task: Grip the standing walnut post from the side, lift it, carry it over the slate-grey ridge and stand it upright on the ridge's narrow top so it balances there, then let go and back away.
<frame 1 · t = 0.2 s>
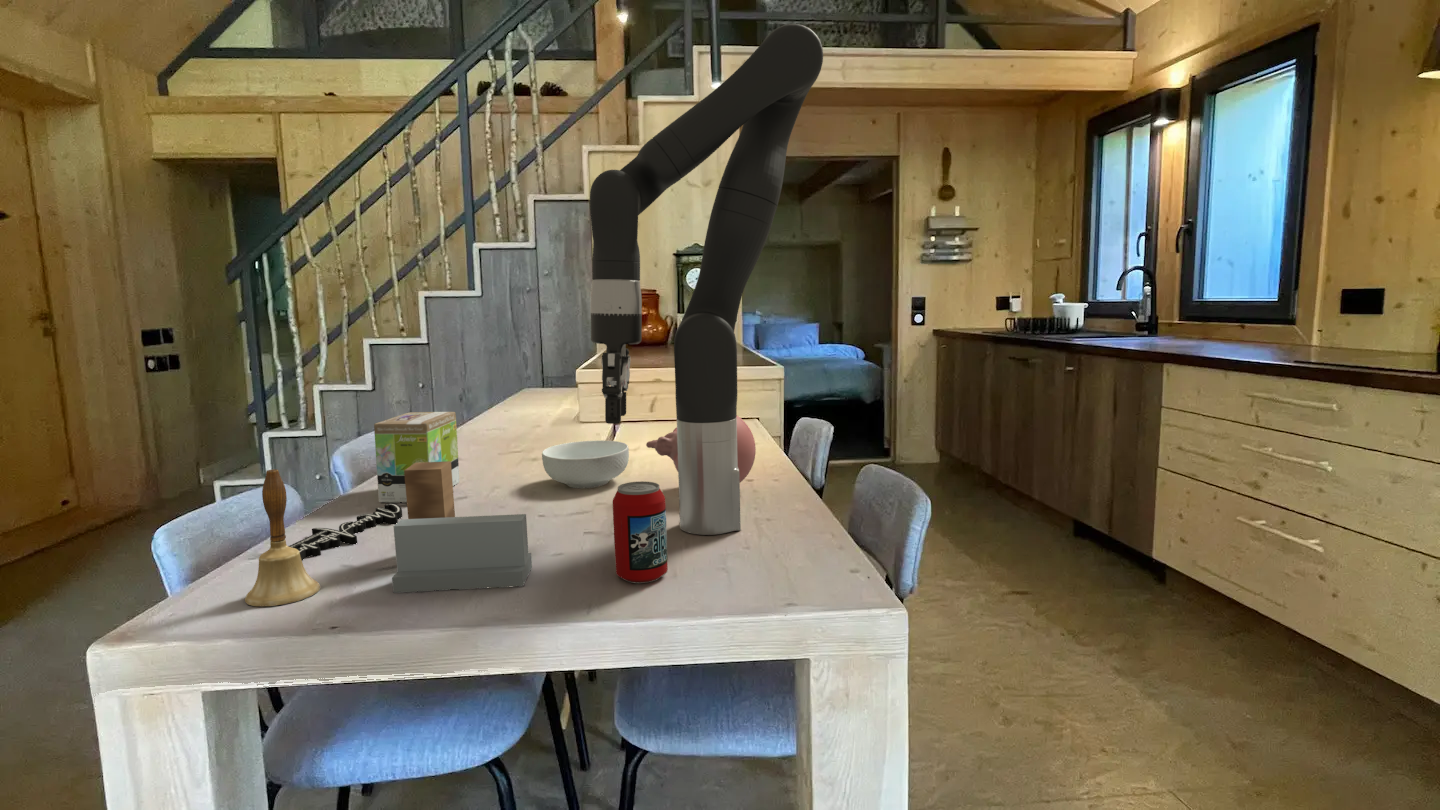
hand: (616, 419, 117), 18 cm above the table, tool pointing down, fingers open, 8 cm apart
ridge: (465, 579, 101), on the table
hand bell: (283, 595, 97), on the table
walnut post: (435, 554, 111), on the table
nameplate: (347, 537, 122), on the table
tea box: (421, 493, 147), on the table
cereal bowl: (587, 484, 151), on the table
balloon: (702, 492, 143), on the table
beverage can: (642, 577, 100), on the table
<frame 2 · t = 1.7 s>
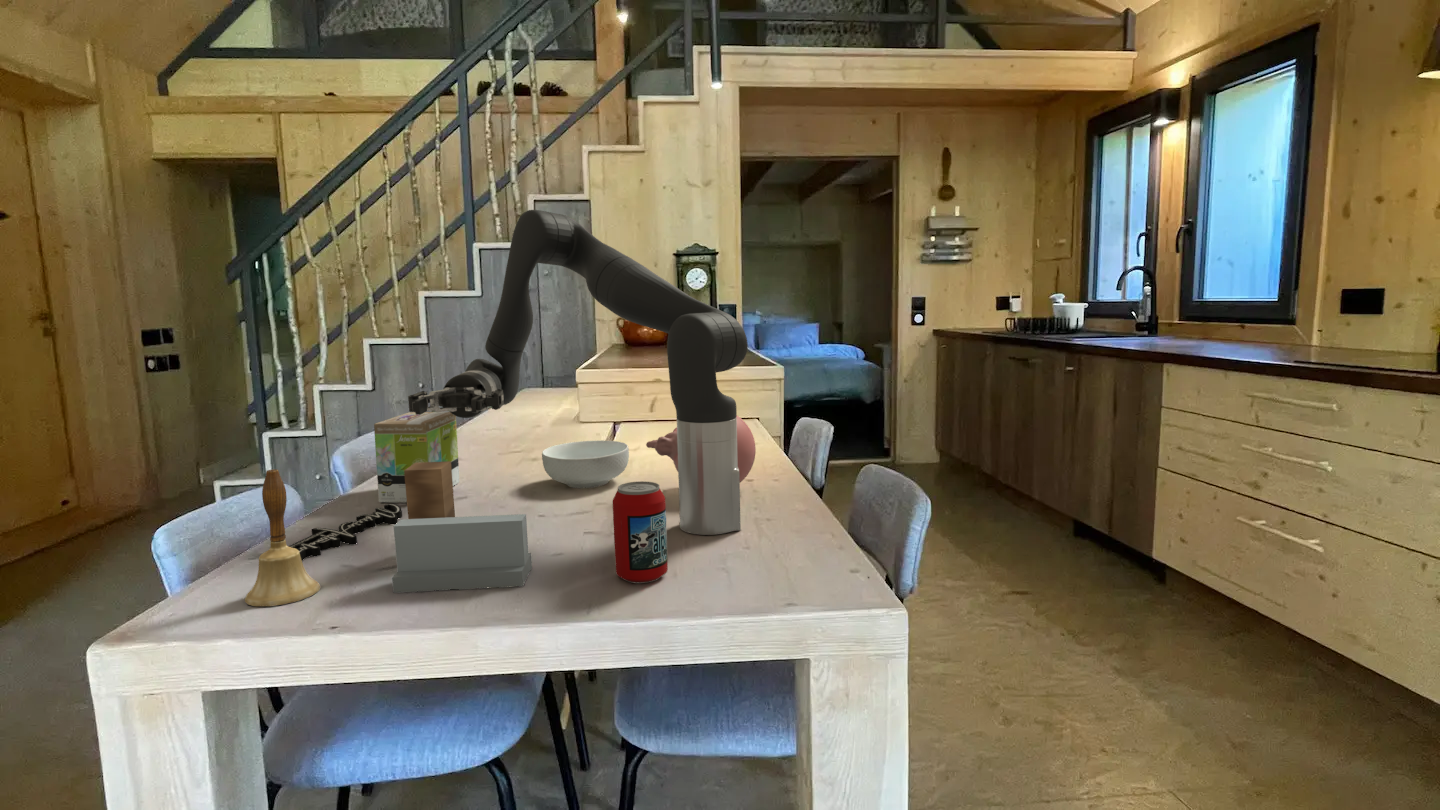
hand: (445, 407, 119), 20 cm above the table, tool horizontal, fingers open, 8 cm apart
nothing on the table moved.
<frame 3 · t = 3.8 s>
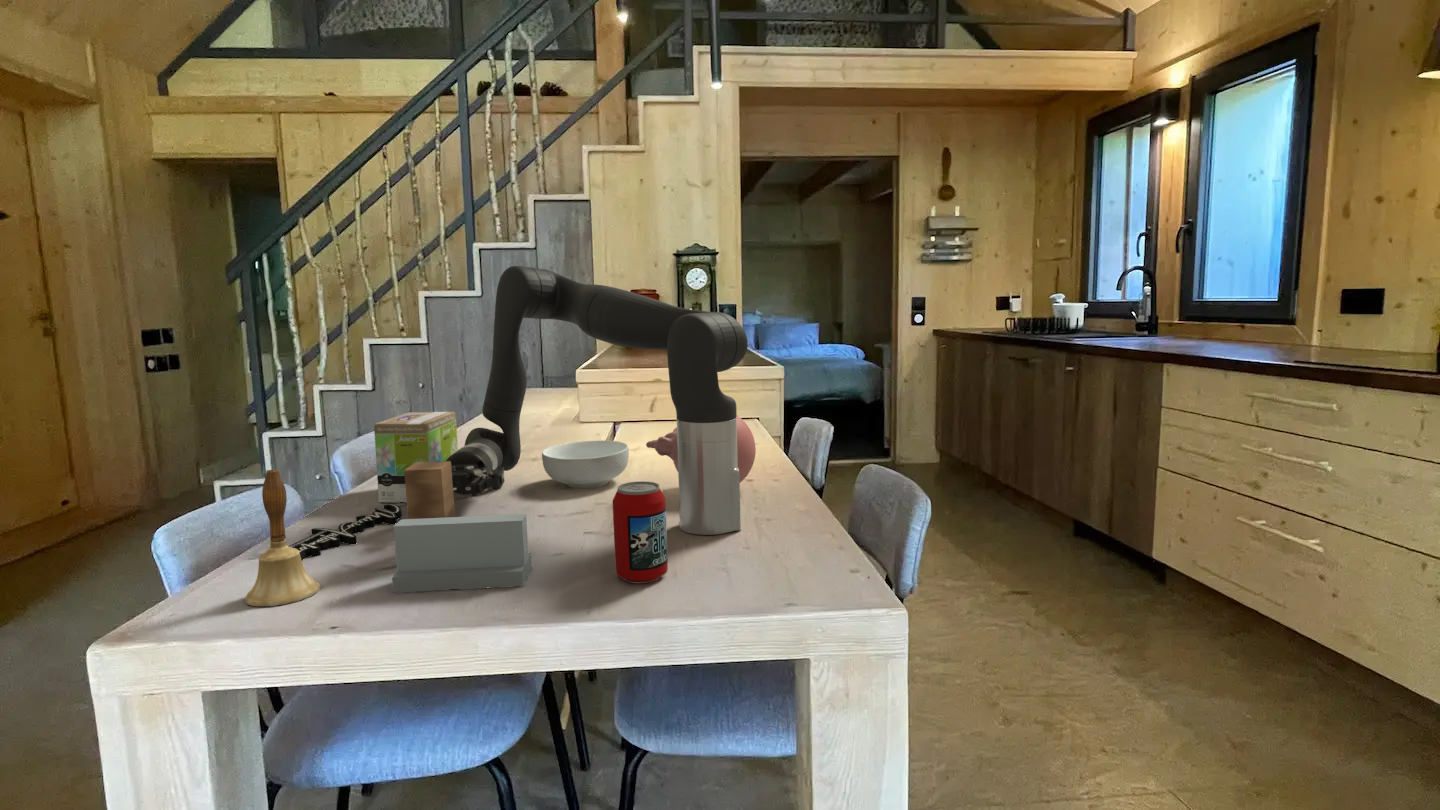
hand: (444, 491, 117), 7 cm above the table, tool horizontal, fingers open, 8 cm apart
nothing on the table moved.
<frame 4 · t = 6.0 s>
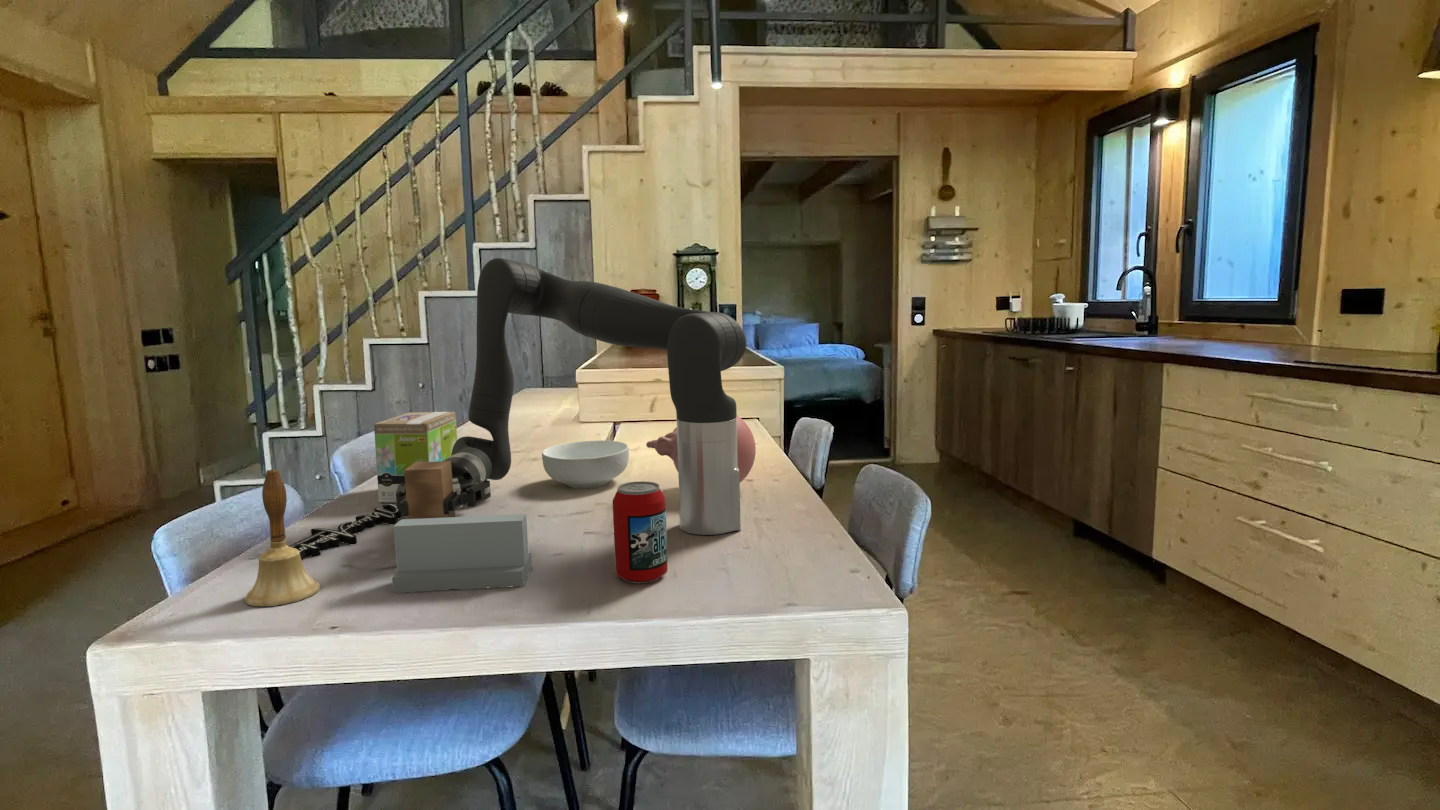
hand: (425, 508, 107), 8 cm above the table, tool horizontal, fingers closed on walnut post, 5 cm apart
walnut post: (435, 553, 111), on the table, touching gripper
everything else where it was.
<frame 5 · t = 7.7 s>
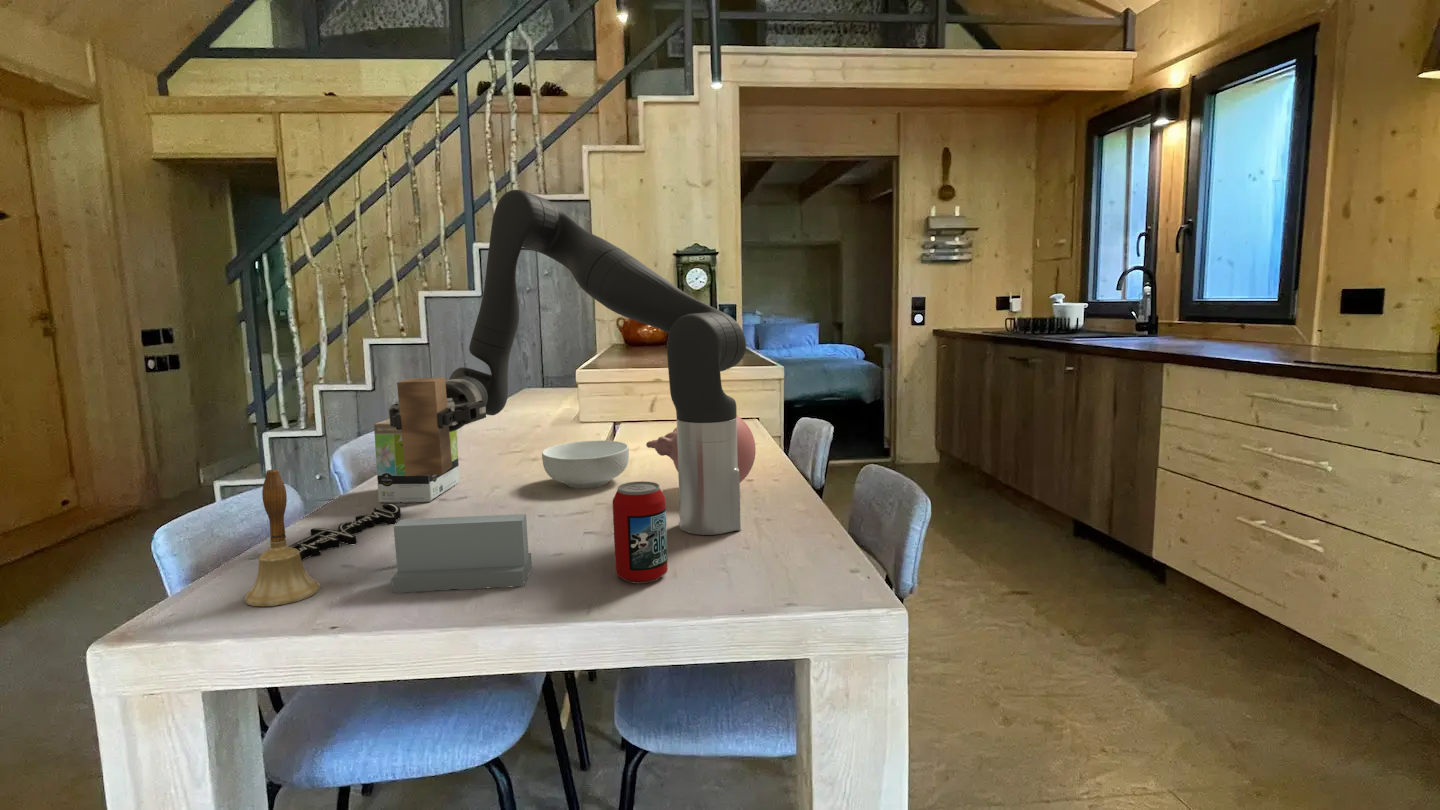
hand: (419, 421, 105), 20 cm above the table, tool horizontal, fingers closed on walnut post, 5 cm apart
walnut post: (429, 471, 109), point 12 cm above the table, touching gripper
everything else where it was.
when the fingers open (17 cm above the table, at t = 9.6 s): walnut post drops 1 cm, resting on ridge.
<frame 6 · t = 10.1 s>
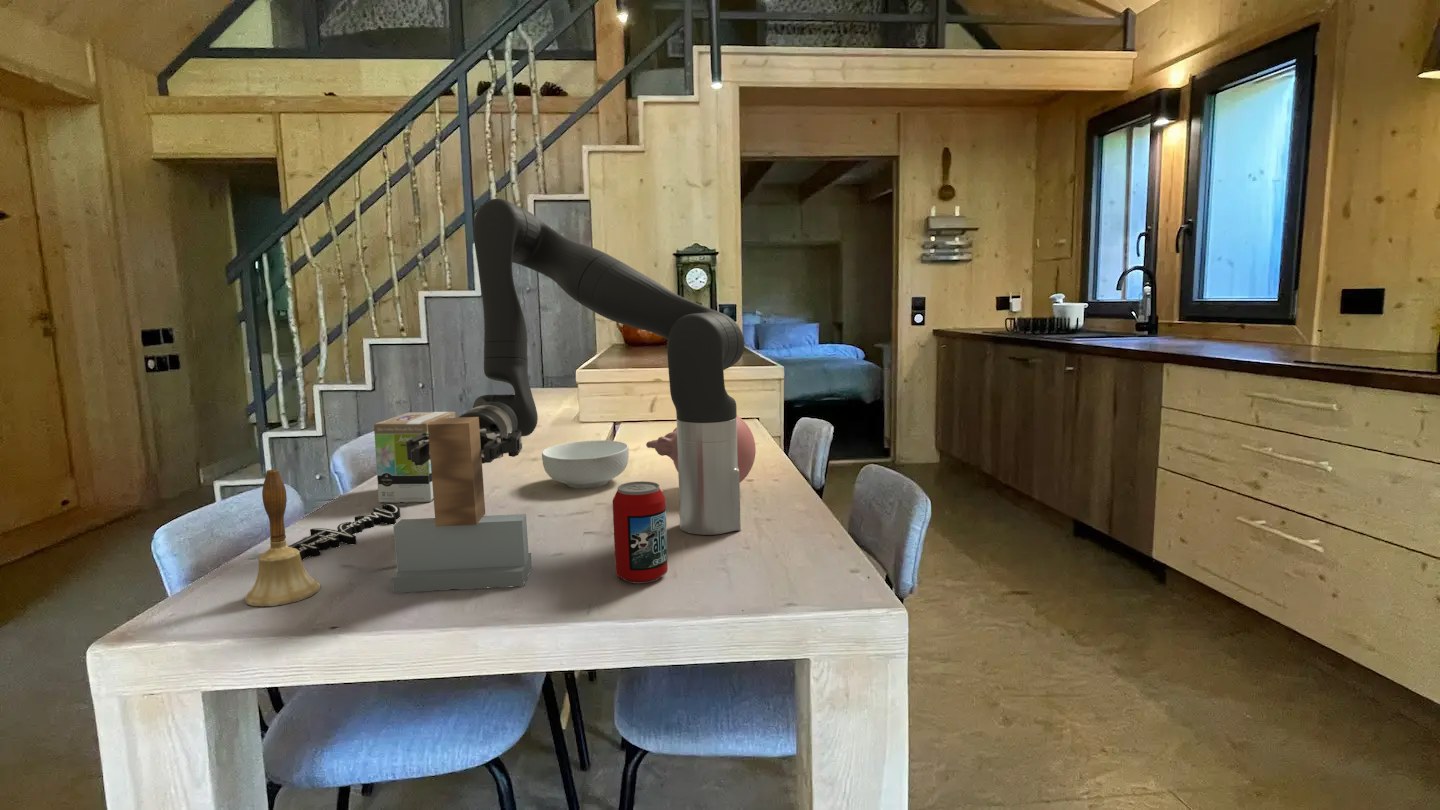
hand: (452, 456, 96), 17 cm above the table, tool horizontal, fingers open, 8 cm apart
walnut post: (461, 519, 100), point 8 cm above the table, touching ridge
everything else where it was.
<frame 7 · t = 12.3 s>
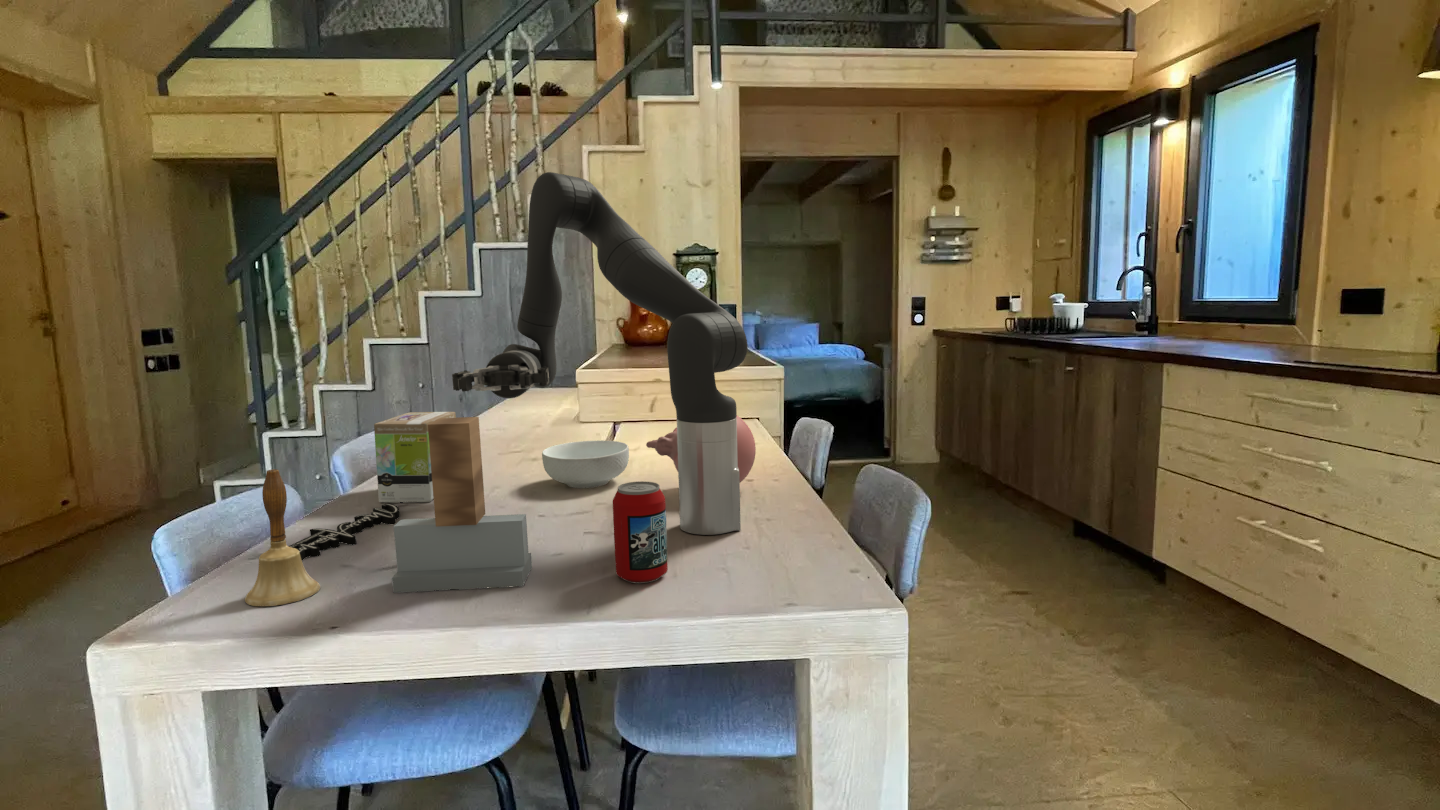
hand: (493, 382, 114), 24 cm above the table, tool horizontal, fingers open, 8 cm apart
nothing on the table moved.
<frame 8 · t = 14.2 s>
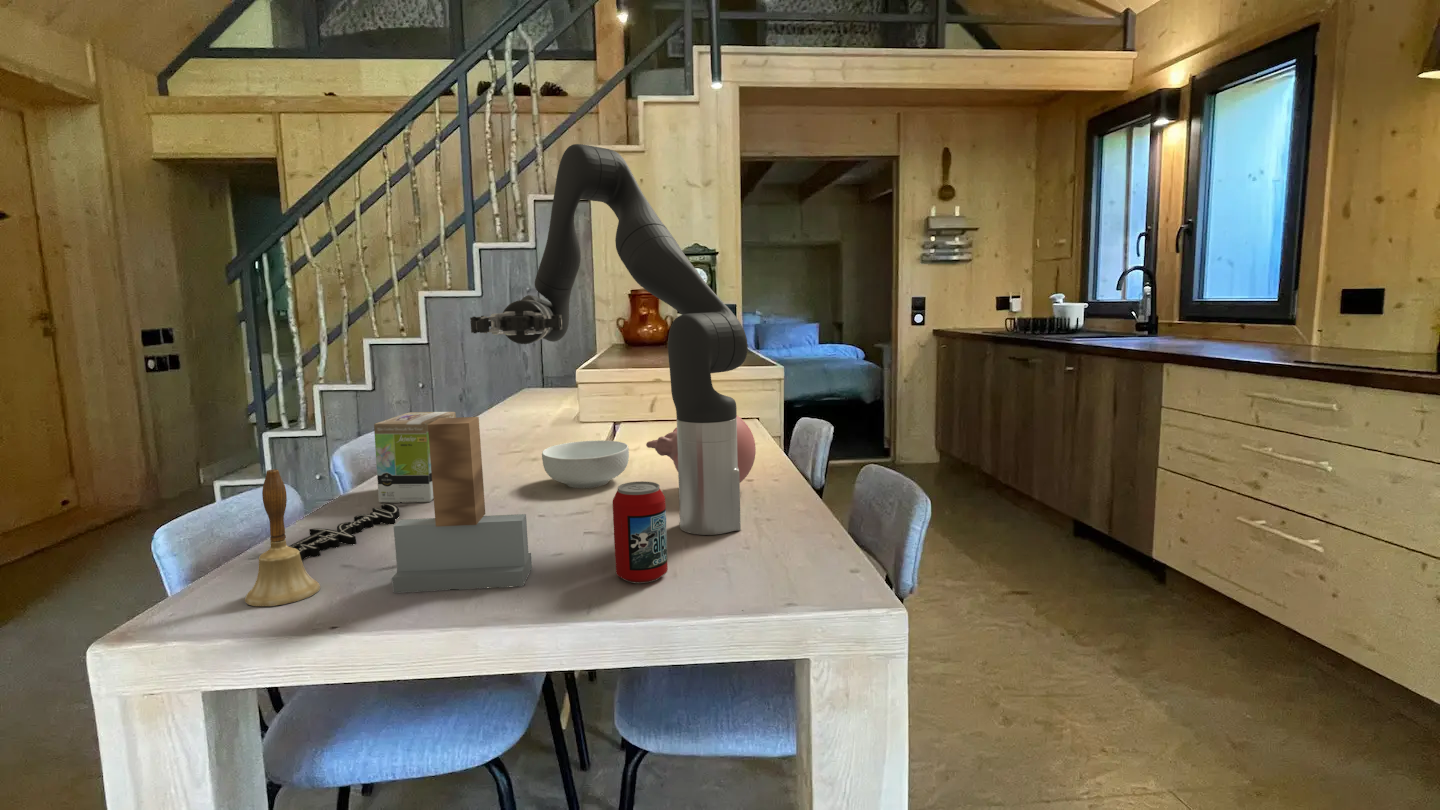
hand: (509, 325, 120), 32 cm above the table, tool horizontal, fingers open, 8 cm apart
nothing on the table moved.
at the end: walnut post inside the target area on the ridge (0.0 cm from its centre), point 8.0 cm above the ridge's base; walnut post tilted 0°; the gripper is holding nothing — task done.
